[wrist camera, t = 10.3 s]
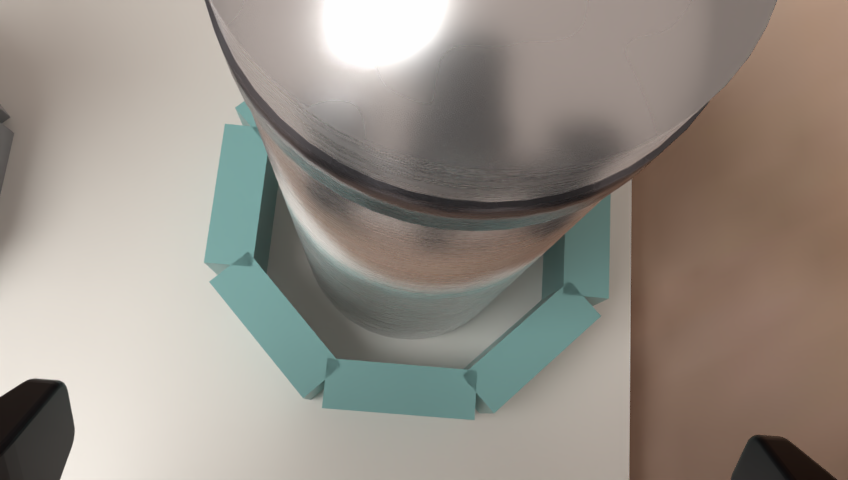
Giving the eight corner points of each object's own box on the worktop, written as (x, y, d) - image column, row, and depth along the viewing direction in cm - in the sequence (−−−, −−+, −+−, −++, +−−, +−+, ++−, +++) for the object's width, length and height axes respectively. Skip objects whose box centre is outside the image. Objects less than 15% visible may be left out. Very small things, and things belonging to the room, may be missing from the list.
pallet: (607, 544, 18) (664, 576, 14) (-481, 469, 16) (-704, 483, 13) (614, 30, 21) (662, -44, 18) (-289, -70, 20) (-426, -171, 16)
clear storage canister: (553, 274, 18) (915, -3, 6) (370, 382, 17) (379, 303, 5) (445, 104, 18) (578, -430, 7) (266, 197, 18) (66, -235, 6)
